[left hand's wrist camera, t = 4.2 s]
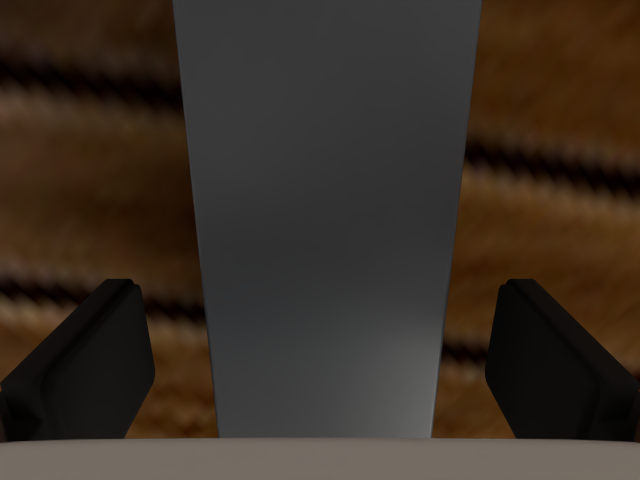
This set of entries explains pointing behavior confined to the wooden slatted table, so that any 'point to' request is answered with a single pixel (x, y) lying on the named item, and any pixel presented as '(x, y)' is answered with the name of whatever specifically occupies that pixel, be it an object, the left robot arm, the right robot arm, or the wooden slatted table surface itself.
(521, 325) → the left robot arm
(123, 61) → the wooden slatted table surface
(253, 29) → the post
